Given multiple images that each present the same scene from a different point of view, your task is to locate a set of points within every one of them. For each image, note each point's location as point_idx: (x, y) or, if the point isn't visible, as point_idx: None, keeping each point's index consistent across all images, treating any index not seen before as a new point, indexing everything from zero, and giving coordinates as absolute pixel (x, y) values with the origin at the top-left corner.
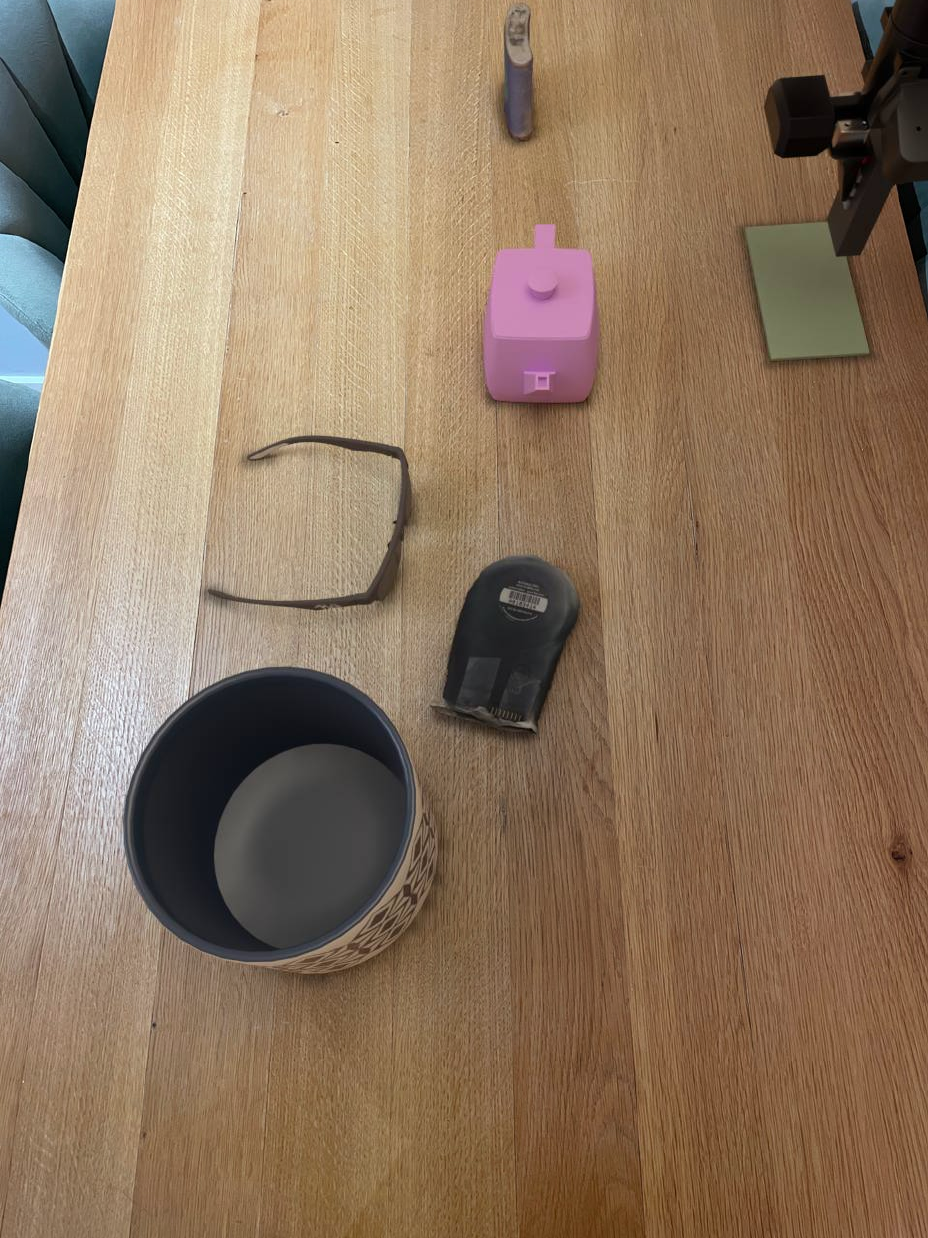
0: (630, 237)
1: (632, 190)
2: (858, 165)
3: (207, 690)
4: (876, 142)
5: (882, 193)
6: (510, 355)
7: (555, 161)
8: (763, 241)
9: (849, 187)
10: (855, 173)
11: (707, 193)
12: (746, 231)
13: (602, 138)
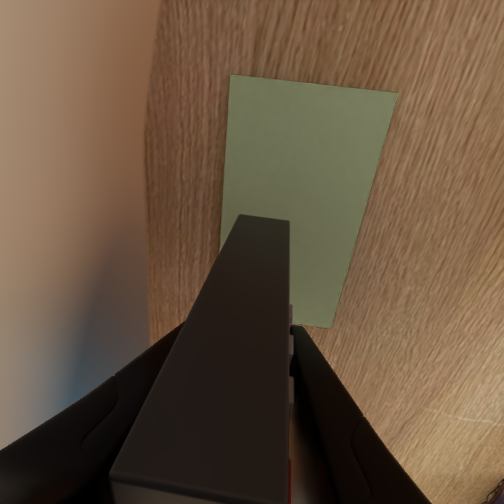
0: (478, 347)
1: (436, 400)
2: (341, 476)
3: None
4: None
5: (216, 317)
6: None
7: (500, 448)
8: (317, 304)
9: (309, 364)
10: (326, 424)
11: (351, 377)
12: (332, 322)
13: (431, 456)
